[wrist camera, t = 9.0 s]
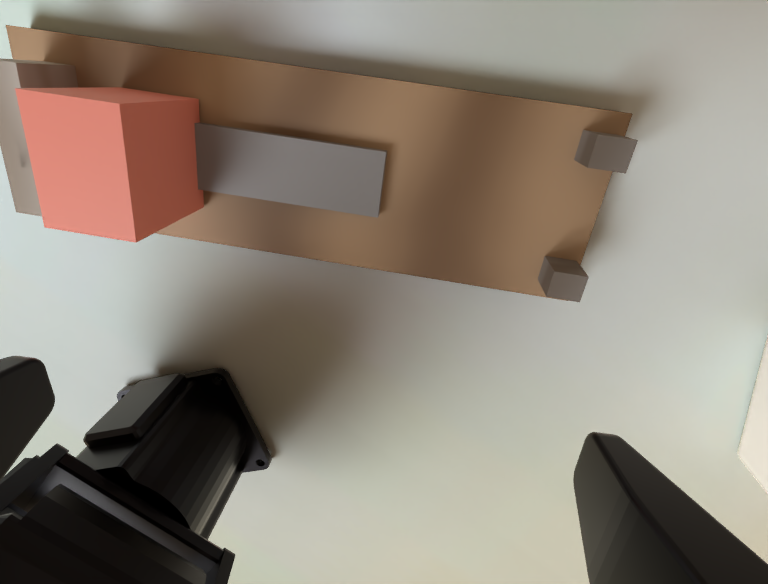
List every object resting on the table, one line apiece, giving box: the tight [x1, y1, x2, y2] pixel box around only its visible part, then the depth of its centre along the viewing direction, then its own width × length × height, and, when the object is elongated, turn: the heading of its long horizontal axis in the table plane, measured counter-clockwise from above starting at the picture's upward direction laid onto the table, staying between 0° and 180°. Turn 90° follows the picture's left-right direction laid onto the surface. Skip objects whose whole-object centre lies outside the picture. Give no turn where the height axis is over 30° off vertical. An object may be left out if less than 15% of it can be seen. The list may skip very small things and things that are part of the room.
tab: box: [15, 87, 387, 242], centre depth 15 cm, size 10×4×4 cm, turn 82°
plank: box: [0, 25, 638, 302], centre depth 16 cm, size 22×7×4 cm, turn 82°
